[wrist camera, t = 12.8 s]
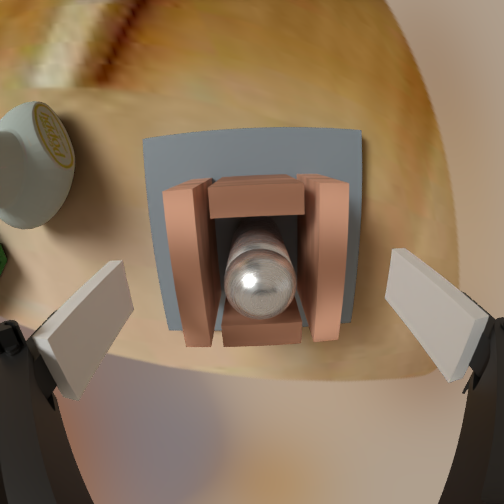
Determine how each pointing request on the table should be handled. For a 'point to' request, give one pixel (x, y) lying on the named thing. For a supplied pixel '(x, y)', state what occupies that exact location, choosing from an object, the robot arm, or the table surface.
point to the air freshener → (33, 165)
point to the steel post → (259, 270)
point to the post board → (244, 164)
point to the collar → (308, 254)
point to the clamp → (2, 259)
